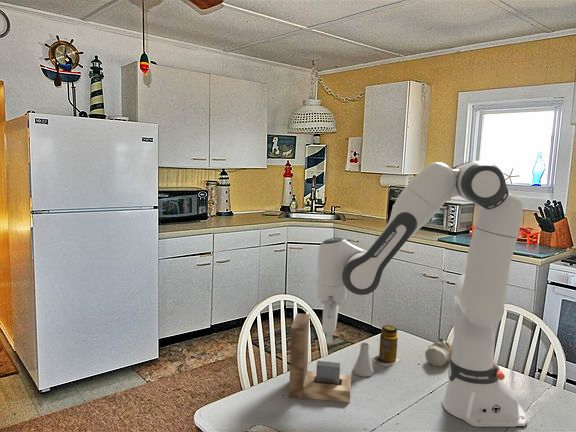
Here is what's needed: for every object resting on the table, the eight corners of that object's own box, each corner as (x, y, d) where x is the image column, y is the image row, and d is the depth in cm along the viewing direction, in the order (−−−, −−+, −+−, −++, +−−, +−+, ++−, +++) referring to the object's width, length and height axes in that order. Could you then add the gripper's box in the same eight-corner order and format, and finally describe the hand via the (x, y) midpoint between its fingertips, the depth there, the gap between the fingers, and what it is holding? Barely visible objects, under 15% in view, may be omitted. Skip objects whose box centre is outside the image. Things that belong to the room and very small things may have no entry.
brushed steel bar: (339, 390, 142) (340, 362, 141) (338, 395, 140) (339, 367, 138) (316, 387, 144) (317, 360, 142) (315, 392, 141) (316, 365, 139)
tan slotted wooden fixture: (350, 384, 146) (354, 317, 143) (349, 404, 135) (353, 332, 131) (294, 378, 149) (296, 313, 146) (289, 397, 137) (291, 327, 134)
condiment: (401, 359, 165) (403, 327, 163) (387, 367, 159) (389, 334, 157) (383, 353, 170) (385, 322, 168) (370, 359, 164) (372, 327, 162)
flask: (373, 378, 150) (375, 349, 149) (351, 376, 152) (353, 347, 150) (374, 368, 157) (375, 340, 156) (353, 366, 159) (354, 338, 157)
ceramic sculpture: (419, 339, 161) (434, 329, 173) (416, 363, 162) (432, 351, 174) (449, 348, 155) (463, 337, 166) (446, 373, 155) (460, 360, 167)
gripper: (340, 303, 126) (339, 351, 128) (343, 282, 146) (342, 324, 148) (317, 302, 127) (316, 349, 129) (323, 281, 147) (322, 323, 149)
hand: (330, 336), depth 139 cm, fingers open, 8 cm apart
